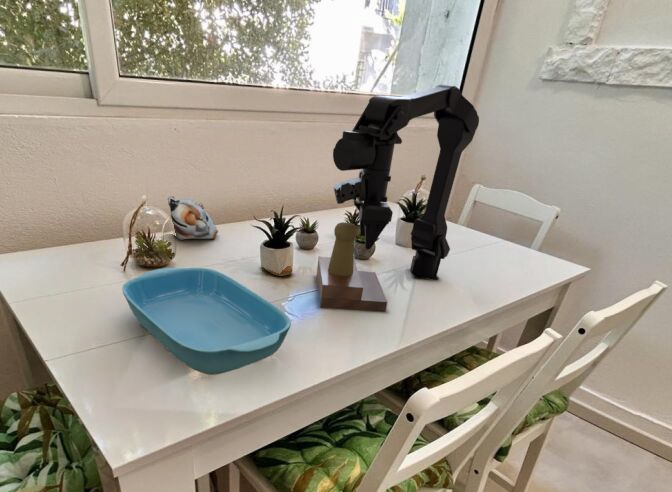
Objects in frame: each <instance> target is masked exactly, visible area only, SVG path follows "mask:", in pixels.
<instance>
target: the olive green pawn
mask: <svg viewBox="0 0 672 492" xmlns="http://www.w3.org/2000/svg"><path fill="white" fill-rule="evenodd" d="M358 232H359V231H358V227H357V225H356V224H354V223H352V222H345V221H344V222H339V223H337V224H336V225H335V227H334V230H333V234H334V237H335V240H334V243H333V247H332V250H331V251H332V252H331V256H330V257H331V259H330V263H329V267H328V271H329V272H330V273H332V274H334V275H338V276H349V275H352V274H353V260H354V261H355V259H354V252H355V249H354V248H355V246H354V244H355V239H356V238H357V237H358Z"/></svg>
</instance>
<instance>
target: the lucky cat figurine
mask: <svg viewBox="0 0 672 492" xmlns="http://www.w3.org/2000/svg"><path fill="white" fill-rule="evenodd" d="M167 204H168V206H169V209H170V218H171V219H172V222H173V224H174V229H175V233H176V237H175V238H176V239H178V240H180V241H183V240H189V239H195V240H196V239H198V240H199V239H205V240H206V239H207V240H208V239H209V240H215V239H216V237H217V234H218V233H219V230H218V228H217V227H216V224H214V222H213V221H212V218H211V216H210V215H209V214H208V213H207V212H206V211H205V209H204V208H205V206H204V205H203V203H197V202H195V201H194V200H191V199H190V198H186V197H182V198H178V199H176V198H175V197H174V195H173V196H172V195H171V196H168V197H167Z"/></svg>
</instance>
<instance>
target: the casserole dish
mask: <svg viewBox="0 0 672 492" xmlns="http://www.w3.org/2000/svg"><path fill="white" fill-rule="evenodd" d="M121 290H122V294H123V296H124V298H125V299H126V302H127V304H128V306H129V308H130V310H131V312H132V313H133V315H134V317H135V319H137V321H138V322H139V323H140V325H142V326H143V327H144V329H146V330H147V331H148V332H149V333H150V335H152V336H153V337H154V338H155V339H156V340H157V341H158V342H159V343H160V344H161V345H163V347H164V348H165V349H167V350H168V351H169V352H170V354H172V355H173V356H174V357H175V358H176V359H177V360H179V361H181V363H183V364H184V365H186V366H187V367H189V368H190V369H192V370H194V371H196V372H198V373H200V374H201V373H202V374H204V375H208V376H217V375H221V374H225V373H229V372H232V371H235V370H239V369H241V368H244V367H245V366H249V365H251V364H255V363H257V362H259V361H260V362H261V361H263V360H264V359H267V358H269V357H271V356H272V355H274V354H275V353H277V351H278V350H279V349H280V347H281V346H282V344H283V343H284V341H285V339H286V337H287V334H288V332H289V330H290V328H291V326H292V321H291V318H290V317H289V315H287V313H286V312H284V311H283V310H282V309H281V308H279V307H278V306H276V305H275V304H273V303H272V302H270V301H269V300H268V299H265V298H264V297H262V296H261V295H259V293H256V292H254V291H253V290H252V289H250V288H248V287H247V286H245V285H243V284H242V283H240V282H239V281H237V280H235V279H234V278H232V277H231V276H229V275H227V274H225V273H223V272H221V271H219V270H216V269H212V268H207V267H164V268H158V269H152V270H150V271H146V272H144V273H142V274H141V275H139V276H138V277H137V276H136V277H134V278H132V279H130V280H127V281H126V282H124V284H123V285H122V287H121Z"/></svg>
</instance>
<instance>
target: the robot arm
mask: <svg viewBox="0 0 672 492" xmlns="http://www.w3.org/2000/svg"><path fill="white" fill-rule="evenodd" d="M431 113H433V117H434V119H435V120H436V122H437V126H438V127H437V133H436V138H437V141H438V147H439V154H438V156H437V157H438V158H437V161H436V165H435V169H434V173H433V177H432V181H431V185H430V190H429V194H428V198H427V202H426V205H425V210H424V212H423V213H422V215H420V216H419V218H415V219H414V221H413V225H412V228H411V229H412V230H411V231H410V241H411V242H410V243H411V250H413V251H415V255H413V256H412V260H411V263H410V268H409V271H410V273H411V274H412V276H413V278H414V279H421V280H431V281H432V280H434V281H438V280H439V276H438V273H439V269H440V264H441V261H442V260H445V259H446V257H448V255H449V253H450V251H451V247H450V245H449V243H448V240H447V233H448V225H447V220H446V211H447V208H448V204H449V201H450V197H451V193H452V189H453V186H454V181H455V180H456V179H455V178H456V174H457V170H458V168H459V164H460V160H461V156H462V154H463V152H464V151H465V149H466V148H467V147H468V146H469V145H470V144H471V143H472V142H473V139H474V138H475V137H474V136H475V134H476V131H477V129H478V128H479V123H480V116H479V114H478V111H477V110H476V108H475V106H474V105H473V104H472V103H471V102H470V101H469V100H468V99H467V98H466V97H465V96H464V95H463V94H462V92H461V89H460V88H458V87H457V86H456V85H450V84H449V85H448V84H437V85H436V86H434V87H430V88H427V89H424V90H420V91H417V92H412V93H410V94H406V95H403V96H395V95H374V96H372V97H371V98H369V100H368V104H366V107H365V108H364V110H363V111H362V113H361V115H360V117H359V118H358V120H357V122H356V123H355V125H354V126H353V128H352V131H350V130H343V131H342V137H341V138H340V139H338V140H337V141H336V143H335V145H334V148H333V150H332V159H333V163H334V165H335V167H336V169H338V170H339V171H340V172H341V171H342V172H344V171H356V170H359V171H358V172H359V173H358V177H355V178H351V179H346V180H343V181H340V182H337V183H334V184H333V186H332V188H333V191H334V196H335V200H336V204H338V205H341V204H344V203H345V202H348V201H351V200H352V203H353V205H354V206H355V208H356V209H357V210H358V219H359V221H358V222H359V233H360V236H361V237H364V248H365V250H371V249H372V247H373V246H374V244H375V243H376V241H377V240H378V238H379V237H380V235H381V234H382V233H383V231H384V230H385V228H386V226H387V225H389V223H390V222H392V219H393V214H394V213H393V210H392V208H391V207H390V206H389V205H388V195H387V191H388V185H389V183H390V182H391V180H392V176H391V168H392V161H393V156H394V150H395V145H402V143H403V140H402V137H400V135H399V134H398V132H399V131H401V130H402V129H404V128H406V127H407V126H408V125H409V123H410V122H411V121H412V120H413V119H417V118H420V117H422V116H425V115H429V114H431Z"/></svg>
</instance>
